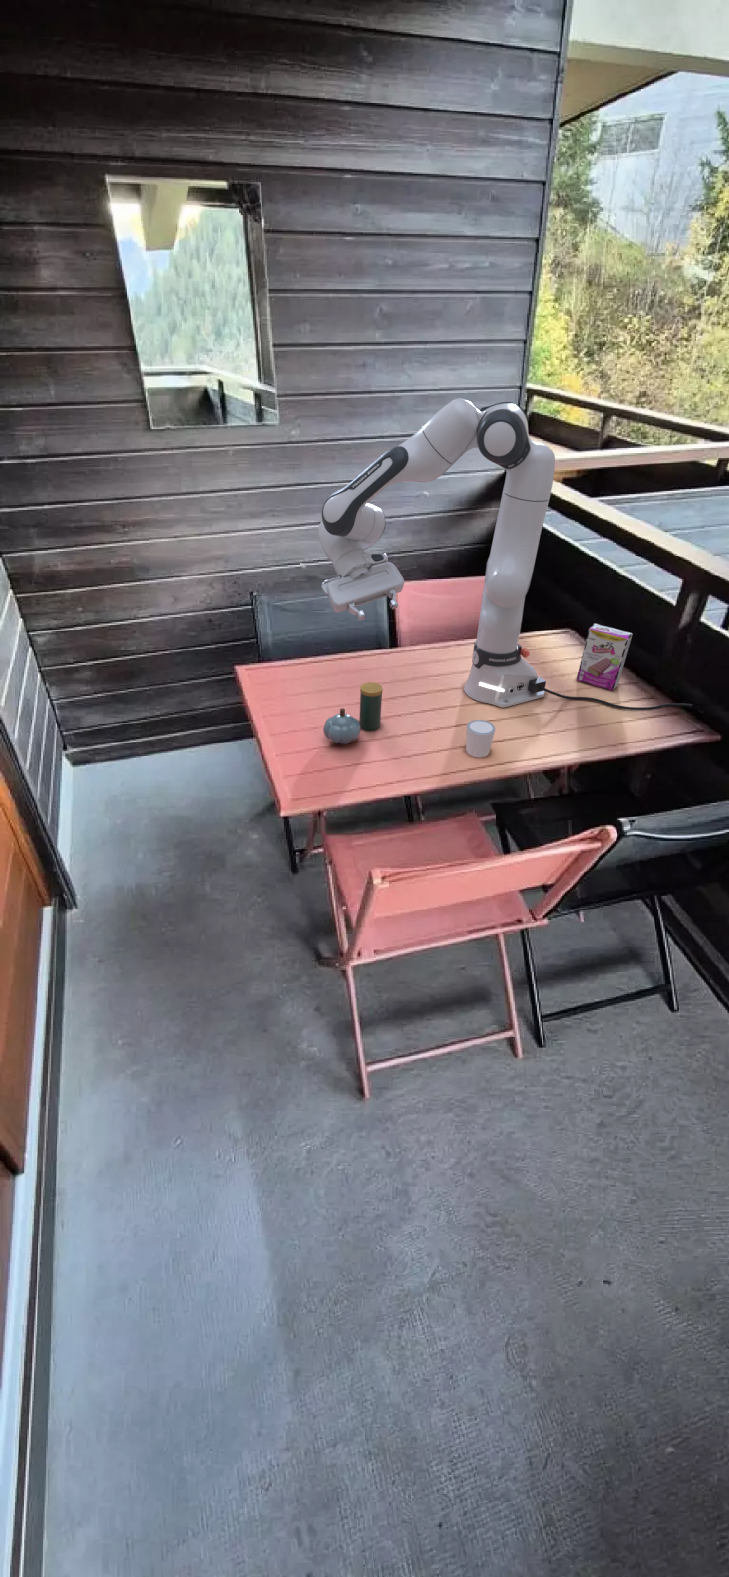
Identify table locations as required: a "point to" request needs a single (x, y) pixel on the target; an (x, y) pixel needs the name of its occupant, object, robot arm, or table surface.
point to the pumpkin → (342, 728)
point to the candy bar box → (604, 656)
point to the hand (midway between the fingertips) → (378, 613)
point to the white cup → (479, 738)
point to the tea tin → (370, 706)
